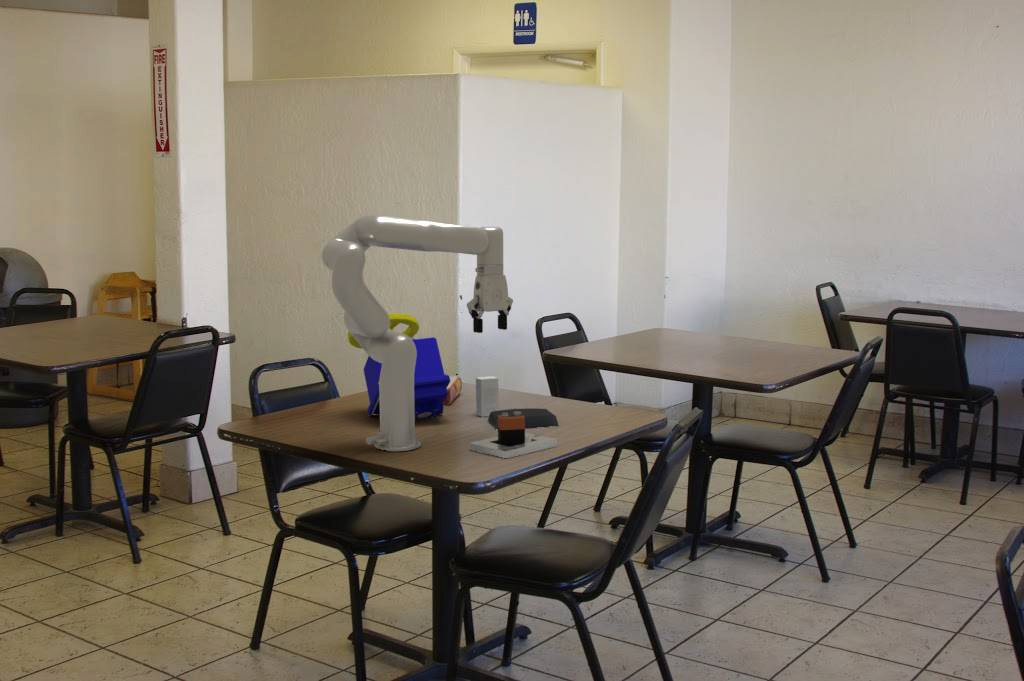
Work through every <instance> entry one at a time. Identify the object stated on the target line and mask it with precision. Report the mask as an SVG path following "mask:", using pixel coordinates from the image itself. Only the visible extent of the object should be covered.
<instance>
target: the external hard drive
mask: <svg viewBox="0 0 1024 681" xmlns="http://www.w3.org/2000/svg"><path fill="white" fill-rule="evenodd" d="M516 411H517V412H521V414H522V415H523V416H524V417H525V430H526V429H538V428H537V427H544V428H550V427H549V426H556V427H559V421H558V419H557V416H556V415H555V414H553V413H552V412H551V411H549V410H548V409H547V408H537V407H536V408H534V407H533V408H526V407H525V408H510V409H508V408H507V409H499V410H498V411H492V412H491V413H490V415H489V416H488V418H487V423H488V422H489V423H488V424H489V425H490V426H491V427H493V428H494V429H495V430H496V429H498V415H502V413H508V414H514V413H513V412H516Z"/></svg>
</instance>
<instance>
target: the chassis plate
mask: <svg viewBox="0 0 1024 681" xmlns="http://www.w3.org/2000/svg"><path fill="white" fill-rule="evenodd" d="M468 445H469V446H468V449H469V451H471V450H473V451H472V452H475V451H477V452H476V453H479V452H481V453H480V454H483V453H485V454H484V455H487V454H490V455H489V456H491V455H495V456H494V457H496V456H499V457H498V458H500V457H502V458H501V459H504V458H507V459H511V458H514V457H515V456H516V457H519V455H520V456H523V455H524V456H525V455H527V454H532V453H536V452H539V451H543V450H548V449H551V448H552V449H553V448H555V447H557V446H558V439H557V438H553V437H548V436H544V435H543V436H542V435H541V436H537V437H535V434H534V433H528V432H525V443H524V444H519V445H515V446H511V447H508V446H504V445H500V444H498V436H494V437H490V438H485V439H481V440H475V441H471V442H469V443H468Z"/></svg>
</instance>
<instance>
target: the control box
mask: <svg viewBox="0 0 1024 681" xmlns="http://www.w3.org/2000/svg"><path fill="white" fill-rule="evenodd" d="M388 315H389V318H390V327H389V328H390V329H391V330H392V331H395V330H394V328H396V327H397V326H398V325H400V324H403V325H406V326H408V327H407V328H406V330H404V331H402V332H401V333H402V334H405V335H407V336H408V337H410V338H411V339H412V341H413V342H414V344H415V346H416V350H417V357H416V364H415V372H414V401H415V421H416V420H420V419H436V417H438V416H437V415H440V414H443V413H444V406H443V402H444V400H445V398H446V397H447V395H448V393H447V387H448V385H449V383H450V377H449V376H450V375H449V374H448V373H445V371H444V366H443V362H442V358H441V355H440V354H441V353H440V349H439V345H438V341H437V338H436V337H433V336H432V337H425V338H423V337H422V336H420V337H415V335H417V334H418V332H419V330H420V326H419V325H420V324H419V321H418V320H417V318H416V317H415V316H413V315H411V314H406V313H400V312H399V313H398V312H394V313H393V312H392V313H388ZM347 338H348V339H347V340H348V343H349V344H350V346H352V347H354V348H357V349H363V348H362V347H361V346H360V344H359V343H358V342H357V341H356V339H355V338H354V337H353V336H352V334H351V333H350V332H349V331H348V332H347ZM363 350H364V349H363ZM381 368H382V364H381V363H379V362H377V361H375V360H373V359H372V358H371V357H370V356H369V355H368V356H367V359H366V362H365V364H364V367H363V374H364V379H365V384H366V389H367V394H368V399H369V400H368V401H369V405H368V406H367V415H368V414H369V415H373V414H380V394H379V379H380V373H381ZM369 415H368V416H369Z"/></svg>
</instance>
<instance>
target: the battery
mask: <svg viewBox="0 0 1024 681" xmlns="http://www.w3.org/2000/svg"><path fill="white" fill-rule="evenodd" d="M513 413H514V414H508V413H502V415H498V430H497V437H498V444H500V445H504V446H508V447H511V446H515V445H519V444H524V443H525V433H526V429H525V417H524V416H523V415H522V414H521V412H517V411H516V412H513Z"/></svg>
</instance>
